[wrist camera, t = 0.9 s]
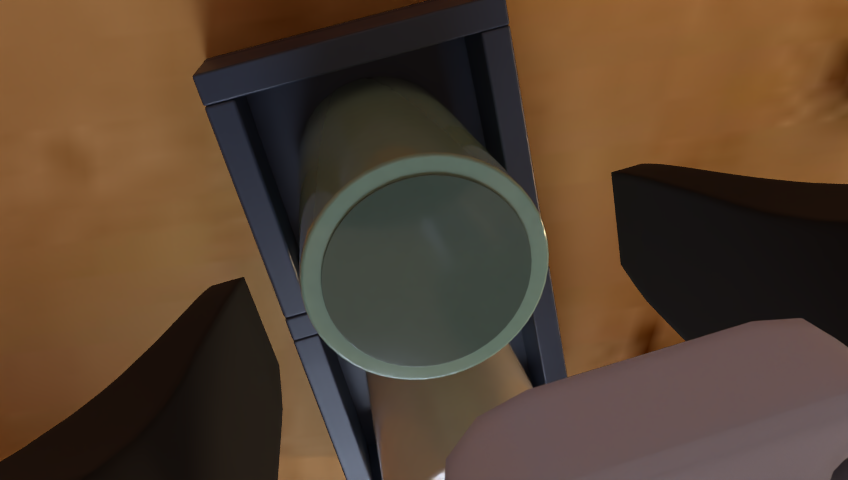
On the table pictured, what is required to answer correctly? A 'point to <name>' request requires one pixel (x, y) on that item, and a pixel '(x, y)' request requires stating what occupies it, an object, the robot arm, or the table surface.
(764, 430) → the robot arm
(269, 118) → the cup holder
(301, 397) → the table surface
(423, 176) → the green cup
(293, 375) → the table surface
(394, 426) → the cream cup
